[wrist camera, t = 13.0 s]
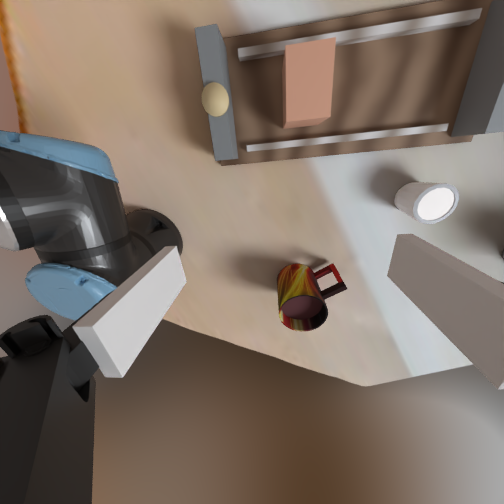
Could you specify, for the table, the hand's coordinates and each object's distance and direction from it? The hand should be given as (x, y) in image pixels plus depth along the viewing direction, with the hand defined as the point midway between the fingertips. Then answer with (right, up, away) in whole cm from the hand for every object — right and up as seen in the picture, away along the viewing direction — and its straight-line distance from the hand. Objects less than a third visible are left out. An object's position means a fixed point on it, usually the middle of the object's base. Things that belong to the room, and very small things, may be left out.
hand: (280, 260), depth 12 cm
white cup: (+30, +12, +27) cm, 42 cm away
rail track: (+13, +27, +21) cm, 37 cm away
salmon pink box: (+6, +26, +21) cm, 34 cm away
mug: (+11, -5, +37) cm, 39 cm away
